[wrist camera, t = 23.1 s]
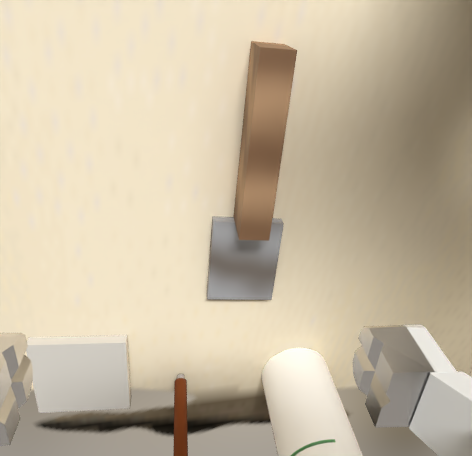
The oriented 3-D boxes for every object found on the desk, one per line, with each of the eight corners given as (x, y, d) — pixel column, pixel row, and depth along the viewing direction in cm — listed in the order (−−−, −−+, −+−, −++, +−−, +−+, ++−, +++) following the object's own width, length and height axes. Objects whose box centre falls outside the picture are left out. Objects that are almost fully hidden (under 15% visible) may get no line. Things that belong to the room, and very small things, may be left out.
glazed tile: (125, 342, 41) (129, 408, 46) (127, 331, 43) (131, 396, 47) (25, 345, 40) (38, 412, 44) (30, 333, 42) (43, 399, 46)
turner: (226, 38, 31) (232, 44, 27) (308, 46, 32) (324, 52, 28) (206, 292, 41) (209, 320, 38) (269, 293, 42) (277, 320, 38)
